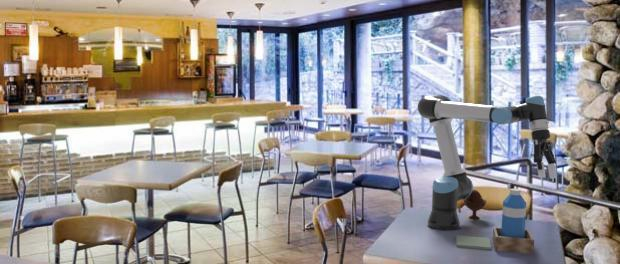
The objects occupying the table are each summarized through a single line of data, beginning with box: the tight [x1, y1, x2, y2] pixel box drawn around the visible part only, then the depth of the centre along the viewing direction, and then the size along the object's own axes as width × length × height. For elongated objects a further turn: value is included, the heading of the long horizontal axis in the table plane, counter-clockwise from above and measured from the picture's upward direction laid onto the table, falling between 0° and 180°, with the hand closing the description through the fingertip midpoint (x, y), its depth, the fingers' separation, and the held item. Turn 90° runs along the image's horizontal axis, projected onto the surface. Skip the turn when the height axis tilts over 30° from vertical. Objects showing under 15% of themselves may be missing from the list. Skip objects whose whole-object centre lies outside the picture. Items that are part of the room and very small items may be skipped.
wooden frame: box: [492, 226, 535, 255], centre depth 231 cm, size 15×15×6 cm
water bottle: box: [501, 188, 527, 238], centre depth 230 cm, size 9×9×25 cm
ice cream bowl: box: [463, 189, 487, 221], centre depth 276 cm, size 11×11×15 cm
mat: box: [456, 235, 492, 251], centre depth 235 cm, size 14×14×1 cm
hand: (547, 177), depth 236 cm, fingers open, 13 cm apart
